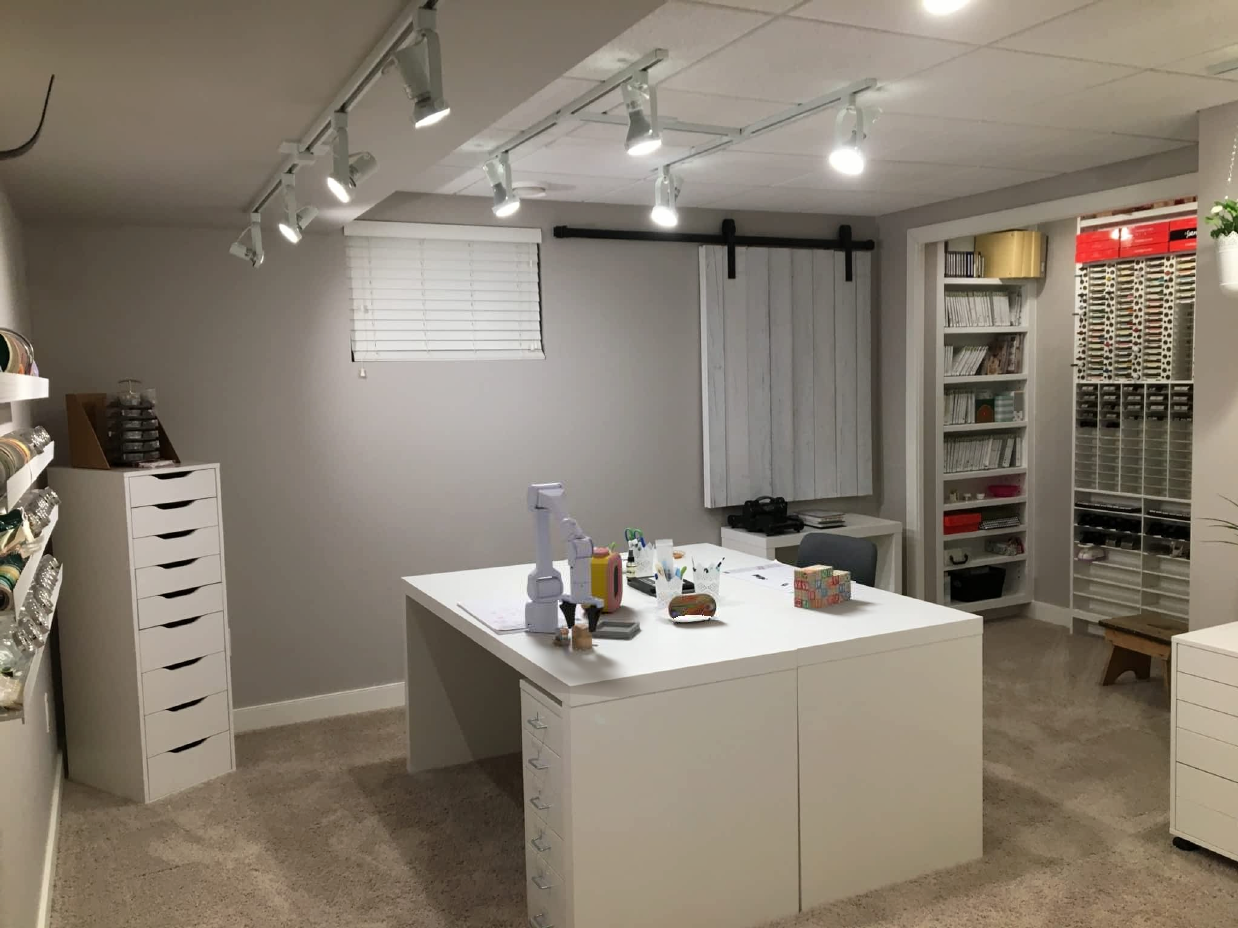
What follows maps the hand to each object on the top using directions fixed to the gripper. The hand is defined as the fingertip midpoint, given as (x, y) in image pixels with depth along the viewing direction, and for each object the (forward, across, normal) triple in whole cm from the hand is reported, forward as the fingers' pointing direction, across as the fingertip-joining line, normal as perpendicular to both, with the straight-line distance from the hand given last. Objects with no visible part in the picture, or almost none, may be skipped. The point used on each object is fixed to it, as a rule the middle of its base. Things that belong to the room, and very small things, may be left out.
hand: (581, 630), depth 280 cm
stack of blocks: (+5, +32, +86) cm, 92 cm away
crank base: (+5, -4, +1) cm, 6 cm away
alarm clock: (+5, -24, +40) cm, 47 cm away
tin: (+5, +9, +42) cm, 44 cm away
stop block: (+5, 0, 0) cm, 5 cm away
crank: (+3, -5, -2) cm, 7 cm away
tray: (+5, -2, +18) cm, 19 cm away
